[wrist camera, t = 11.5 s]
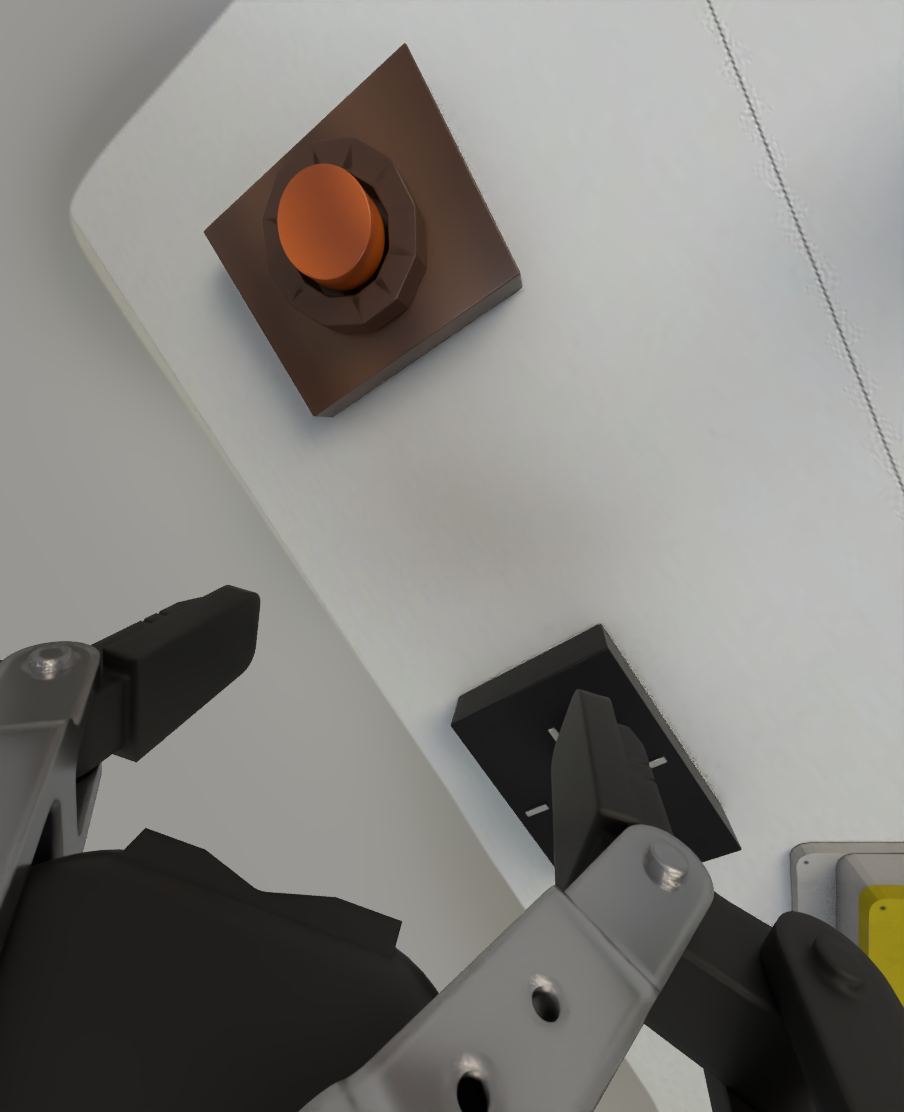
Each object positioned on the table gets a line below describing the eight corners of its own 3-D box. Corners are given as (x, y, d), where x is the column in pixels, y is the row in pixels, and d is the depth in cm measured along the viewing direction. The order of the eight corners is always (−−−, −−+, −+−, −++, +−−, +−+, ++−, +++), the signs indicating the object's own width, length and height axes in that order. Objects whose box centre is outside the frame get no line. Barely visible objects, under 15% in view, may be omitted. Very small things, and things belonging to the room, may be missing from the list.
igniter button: (330, 310, 21) (312, 300, 19) (281, 225, 20) (258, 207, 19) (402, 254, 20) (389, 239, 18) (353, 162, 19) (335, 137, 17)
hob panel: (458, 696, 29) (449, 727, 26) (600, 622, 26) (608, 648, 23) (576, 858, 31) (579, 904, 28) (722, 807, 28) (743, 853, 25)
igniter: (331, 417, 26) (295, 416, 22) (231, 247, 24) (174, 215, 21) (522, 287, 22) (518, 259, 19) (418, 78, 21) (391, 2, 17)
